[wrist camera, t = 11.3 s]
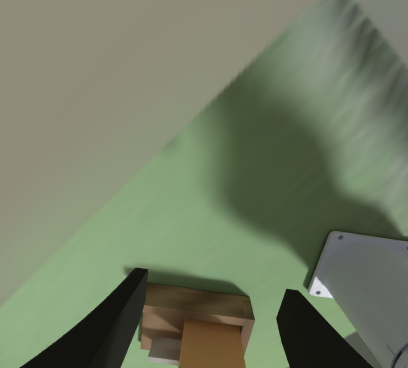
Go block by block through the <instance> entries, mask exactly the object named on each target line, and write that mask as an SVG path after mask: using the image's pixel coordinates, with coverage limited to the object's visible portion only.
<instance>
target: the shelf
mask: <svg viewBox="0 0 408 368" xmlns="http://www.w3.org/2000/svg"><path fill="white" fill-rule="evenodd" d="M142 312H143V321H142V335H141V349H146V350H150V352H149V356H148V362H155V363H163V364H170V365H178V366H179V359H180V351H181V344H182V336H183V329H184V323H185V318H188V319H195V320H203V321H210V322H217V323H225V324H232V325H239V326H240V333H241V340H242V346H243V353H244V355H245V351H246V348H247V345H248V341H249V338H250V335H251V332H252V328H253V325H254V322H255V318H254V314H253V310H252V305H251V301H250V297H246V296H239V295H232V294H225V293H218V292H210V291H203V290H196V289H189V288H182V287H175V286H167V285H160V284H153V283H147V290H146V301H145V304H144V308H143V311H142Z"/></svg>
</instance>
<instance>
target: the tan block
mask: <svg viewBox="0 0 408 368" xmlns="http://www.w3.org/2000/svg"><path fill="white" fill-rule="evenodd" d="M178 368H246V367H245V360H244V353H243V346H242V340H241V333H240V326H239V325H232V324H225V323H217V322H210V321H203V320H195V319H188V318H185V323H184V329H183V336H182V344H181V351H180V359H179V367H178Z"/></svg>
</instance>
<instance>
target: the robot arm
mask: <svg viewBox="0 0 408 368" xmlns="http://www.w3.org/2000/svg"><path fill="white" fill-rule="evenodd" d="M339 236H341V237H339ZM338 237H339V238H338ZM147 277H148V269H142V268H135V269H134V270H133V271H132V272H131V273H130V274H129V275H128V276H127V277H126V279H125V280H124V281H123V282H122V283H121V284H120V285H119V286H118V287H117V288H116V289H115V290H114V291H113V292H112V293H111V294H110V295H109V296H108V297H107V298H106V299H105V300H104V301H103V302H102V303H100V304H99V305H98V306H97V307H96V308H95V309H94V310H93V311H92V312H91V313H89V314H88V315H87V316H86V317H85V318H84V319H83V320H81V321H80V322H79V323H78V324H77V325H76V326H74V327H73V328H72V329H71V330H70V331H68V332H67V333H66V334H64V335H63V336H62V337H61V338H59V339H58V340H57V341H56V342H54V343H53V344H52V345H50V346H49V347H48V348H46V349H45V350H44V351H42V352H41V353H39V354H38V355H37V356H35V357H34V358H33V359H31V360H30V361H28V362H27V363H26V364H24V365H23V366H21V367H20V368H120V367H121V365H122V363H123V360H124V358H125V355H126V353H127V350H128V348H129V346H130V343H131V341H132V338H133V336H134V333H135V331H136V329H137V326H138V324H139V321H140V317H141V314H142V311H143V308H144V304H145V301H146V290H147ZM308 292H309V294H310V295H314V296H321V297H328V298H334V300H335V301H336V302H337V304H338V305H339V307H340V308H341V309H342V311H343V312H344V314H345V315H346V316H347V318H348V319H349V321H350V322H351V323H352V325H353V326H354V328H355V329H356V330H357V332H358V333H359V335H360V336H361V337H362V339H363V340H364V342H365V343H366V344H367V346H368V347H369V349H370V350H371V351H372V353H373V354H374V356H375V357H376V358H377V360H378V361H379V362H380V364H381V366H382V367H383V368H408V241H401V240H394V239H388V238H381V237H374V236H367V235H360V234H354V233H347V232H340V231H332V232H330V234H329V236H328V238H327V241H326V243H325V246H324V249H323V251H322V254H321V256H320V259H319V262H318V264H317V267H316V269H315V272H314V274H313V277H312V280H311V282H310V285H309V287H308ZM276 319H277V324H278V329H279V333H280V337H281V342H282V345H283V348H284V351H285V354H286V357H287V360H288V363H289V366H290V368H373V367H372V366H371V365H370V364H369V363H368V362H367V361H366V360H365V359H364V358H363V357H362V356H361V355H360V354H359V353H357V352H356V351H355V350H354V349H353V348H352V347H351V346H350V345H349V344H348V343H347V342H346V341H345V340H344V339H343V338H342V337H341V335H340V334H339V333H338V332H337V331H336V330H335V329H334V328H333V327H332V326H331V325H330V324H329V323H328V322H327V321H326V320H325V319H324V318H323V316H322V315H321V314H320V313H319V312H318V311H317V310H316V309H315V308H314V307H313V306H312V305H311V303H310V302H309V301H308V300H307V299H306V298H305V297H304V296H303V295H302V294H301V293H300V292H299V291H298V290H291V289H286V292H285V295H284V297H283V300H282V303H281V306H280V309H279V312H278V315H277V318H276Z"/></svg>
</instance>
